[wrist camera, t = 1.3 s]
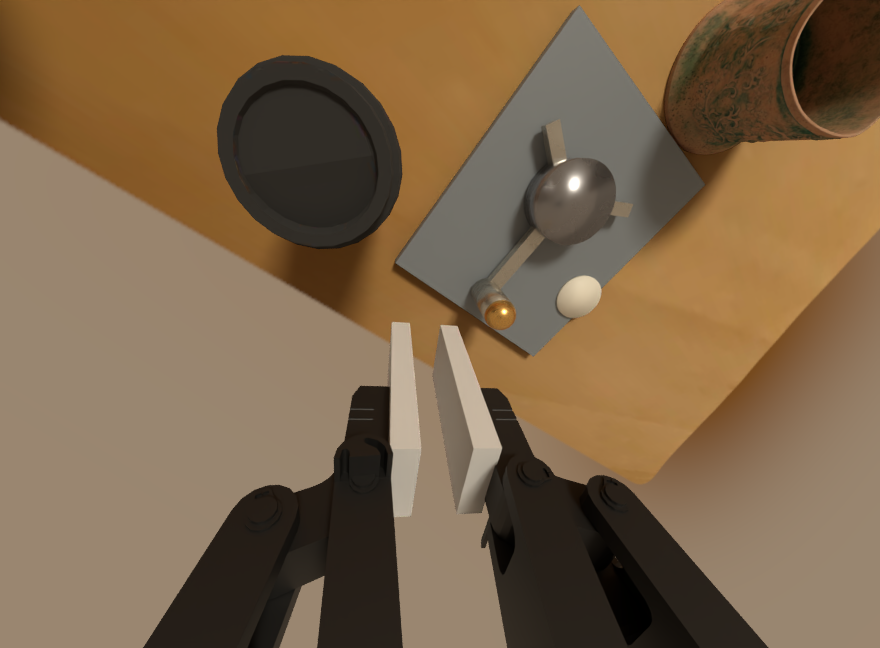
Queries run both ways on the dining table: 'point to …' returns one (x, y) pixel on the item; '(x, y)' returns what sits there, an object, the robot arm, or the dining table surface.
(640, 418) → the dining table surface
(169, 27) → the dining table surface
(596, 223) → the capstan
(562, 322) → the stand plate
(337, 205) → the coffee cup
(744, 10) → the mug
